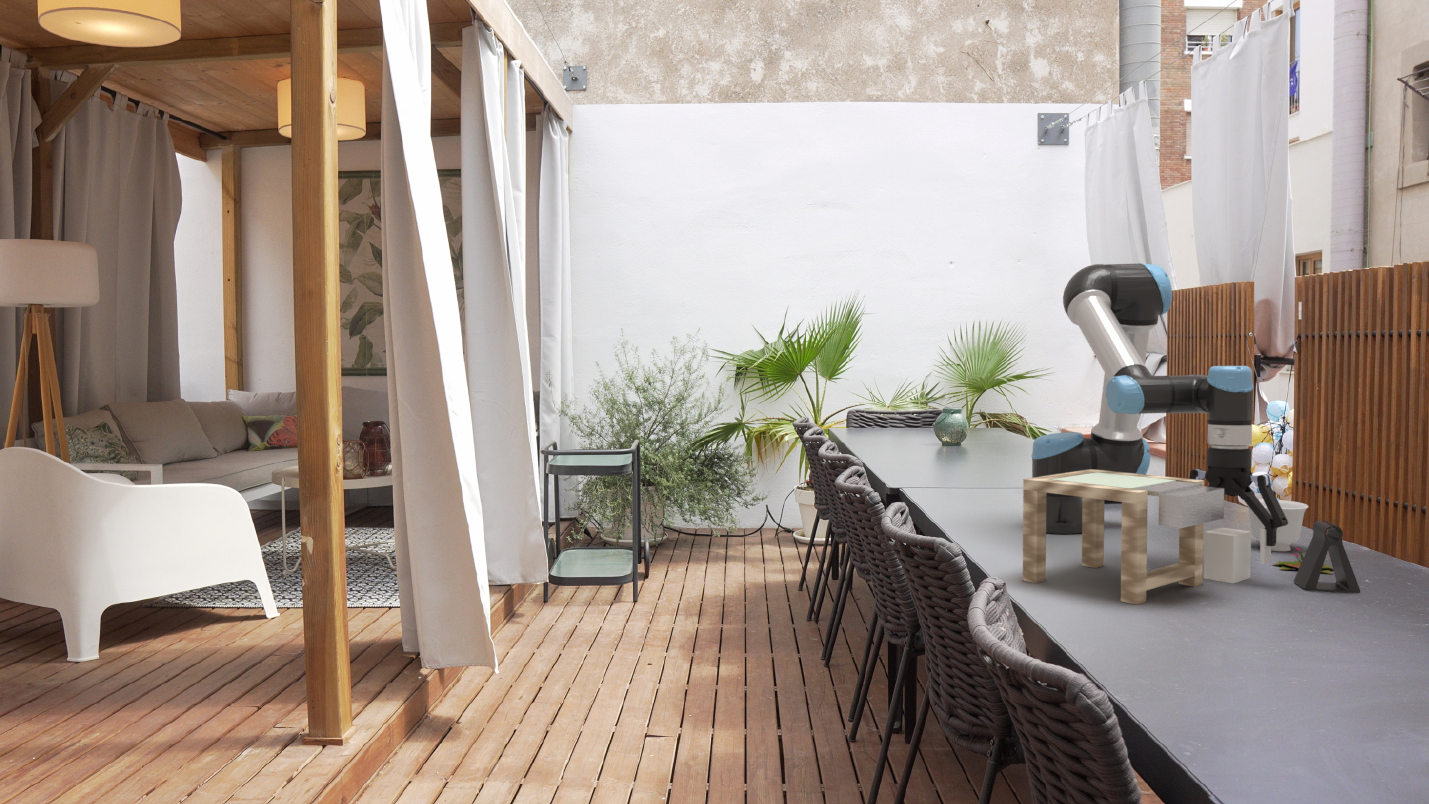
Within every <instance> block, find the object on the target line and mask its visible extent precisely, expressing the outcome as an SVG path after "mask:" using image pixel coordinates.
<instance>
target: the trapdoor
mask: <svg viewBox="0 0 1429 804" xmlns="http://www.w3.org/2000/svg"><path fill="white" fill-rule="evenodd" d="M1050 480H1057V481H1066V482H1075V483H1083V484H1092V485H1101V486H1110V487H1118V488H1127V489H1136V490H1145V491H1148V496H1151V497H1153V496H1154V497H1158V526H1162V527H1171V528H1177V529H1179V528H1185V527H1189V526H1193V525H1198V524H1202V523H1204V524H1205V523H1211V522H1214V521H1217V520H1223V519H1224V518H1225V516H1224V515H1225V513H1224V512H1225V495H1224V488H1216V487H1208V486H1205V485H1204V486H1202V484H1198V483H1189V482H1179V481H1176V480H1168V479H1159V478H1149V477H1139V476H1129V475H1120V474H1110V473H1100V472H1096V473H1089V474H1082V475H1076V476H1069V477H1063V478H1056V479H1050Z"/></svg>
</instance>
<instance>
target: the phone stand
mask: <svg viewBox="0 0 1429 804" xmlns="http://www.w3.org/2000/svg"><path fill="white" fill-rule="evenodd" d="M1312 533H1313V534H1312V536H1311V537H1312V538H1311V540H1310V542H1309V545H1308V547H1307V549H1306V550H1305V553H1304V555H1303V557H1304V558H1303V560H1301V562H1302V563H1301V565H1300V567H1298V569H1297V572H1296V574H1295V577H1294V579H1293V582H1294V584H1296V585H1297V586H1299V587H1300V588H1302V589H1303V590H1304V591H1307V592H1327V593H1328V592H1329V593H1331V592H1333V593H1345V594H1347V593H1348V594H1360V593H1361V589H1360V586H1359V583H1358V581H1357V578H1356V576H1355V573H1354V570H1353V568H1352V565H1351V562H1350V560H1349V557H1348V554H1347V551H1346V548H1345V547H1344V544H1343V536H1344V531H1343V529H1342V528H1341V527H1340V526H1337V525H1335V524H1333V523H1331V522H1329V521H1327V520H1324V521H1322V520H1319V519H1318V520H1316V521H1315V522H1314V523H1313V525H1312ZM1327 555H1329V558H1330V562H1331V567H1332V568H1333V575H1334V578H1335V582H1327V581H1326V582H1323V581H1322V582H1321V581H1319V579H1320V576H1321V573H1322V572H1321V571H1322V570H1323V568H1322V567H1323V565H1325V561H1326V558H1327Z"/></svg>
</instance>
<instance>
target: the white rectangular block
mask: <svg viewBox="0 0 1429 804" xmlns="http://www.w3.org/2000/svg"><path fill="white" fill-rule="evenodd" d="M1251 555H1252V530H1251V531H1249V530H1243V529H1235V528H1228V527H1219V528H1213V529H1211V530H1210V529H1209V530H1207V531H1203V579H1205V580H1211V581H1212V580H1213V581H1215V582H1216V581H1217V582H1223V583H1227V584H1237V583H1239V582H1242V581H1245V580H1246V581H1247V580H1248V579H1251V559H1252V557H1251Z"/></svg>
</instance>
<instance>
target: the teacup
mask: <svg viewBox="0 0 1429 804" xmlns="http://www.w3.org/2000/svg"><path fill="white" fill-rule="evenodd" d="M1257 499H1258V500H1259V501H1260V502H1261V504H1262V505H1263V506H1264V507H1265V509H1266V510H1267V511H1268V512H1269V510H1268V508H1267V506H1266V504H1265V502H1264V500H1263V498H1257ZM1277 500H1278V502H1279V504H1280V506H1281V508H1282V510H1283V512H1284V514H1285V516H1286V518H1287V520H1288V524H1287V525H1286V526H1282V527H1278V528H1277V531H1276V545H1275V546H1271V552H1279V553H1280V552H1290V551H1291V545H1293V544H1295V543H1296V542H1297V541H1298V540H1299V539H1300V536H1301V533H1302V528H1303V527H1302V526H1303V521H1304V516H1305V513H1306V510H1307V509H1308V508H1309V505H1308V504H1306V503H1303V502H1299V501H1293V500H1283V499H1277ZM1244 503H1245V504H1246V502H1245V501H1244ZM1246 506H1247V509H1248V513H1249V521H1250V529H1251V535H1253V538H1254V539H1255V540H1257V542H1260V533H1261V529H1262V528H1265V526H1264V525H1263V524H1262V522H1261V521H1260V520H1259V519H1258V517H1257V516H1256V515H1255V514H1254V512H1253V511H1252V510H1251V509H1250V507H1249V506H1248V505H1247V504H1246ZM1269 514H1270V512H1269ZM1270 515H1271V514H1270Z"/></svg>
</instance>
